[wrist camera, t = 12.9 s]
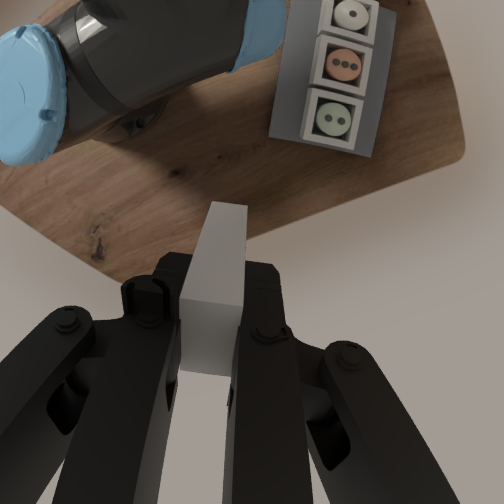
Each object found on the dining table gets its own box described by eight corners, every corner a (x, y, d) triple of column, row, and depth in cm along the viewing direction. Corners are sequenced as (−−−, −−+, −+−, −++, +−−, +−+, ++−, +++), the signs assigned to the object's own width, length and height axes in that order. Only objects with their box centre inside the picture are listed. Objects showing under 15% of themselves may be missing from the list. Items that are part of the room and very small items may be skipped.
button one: (328, 28, 29) (334, 22, 26) (332, 2, 27) (338, -5, 24) (358, 36, 29) (367, 32, 26) (362, 11, 27) (370, 5, 24)
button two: (310, 129, 36) (315, 132, 33) (316, 99, 34) (321, 99, 31) (340, 135, 36) (347, 139, 33) (346, 106, 34) (354, 107, 31)
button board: (267, 135, 38) (269, 140, 34) (293, -14, 27) (297, -26, 23) (367, 155, 39) (379, 163, 35) (392, 14, 28) (406, 8, 24)
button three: (320, 77, 32) (326, 75, 29) (325, 48, 30) (331, 44, 27) (350, 84, 32) (358, 84, 30) (355, 56, 30) (363, 54, 28)
